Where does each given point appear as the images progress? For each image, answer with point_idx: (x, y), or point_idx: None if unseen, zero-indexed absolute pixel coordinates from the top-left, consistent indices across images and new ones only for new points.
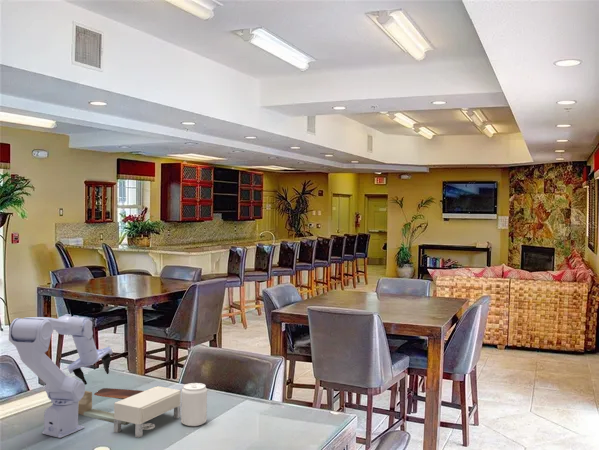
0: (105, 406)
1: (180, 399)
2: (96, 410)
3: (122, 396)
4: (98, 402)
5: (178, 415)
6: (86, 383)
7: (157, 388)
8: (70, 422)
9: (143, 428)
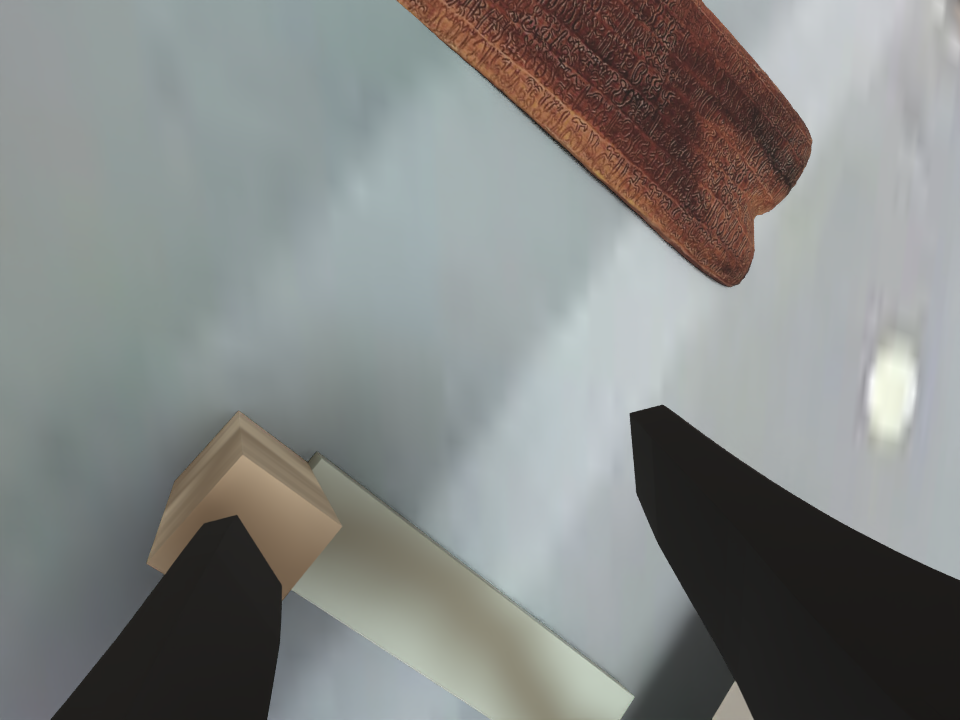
0: (418, 309)
1: None
2: (359, 516)
3: (556, 112)
4: (346, 166)
5: None
6: (273, 612)
7: None
8: None
9: None
